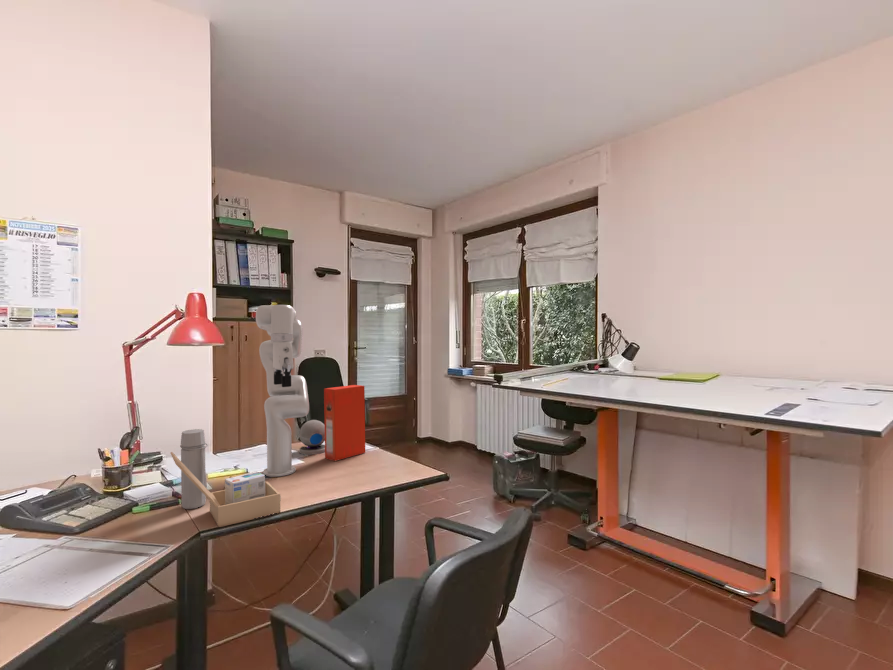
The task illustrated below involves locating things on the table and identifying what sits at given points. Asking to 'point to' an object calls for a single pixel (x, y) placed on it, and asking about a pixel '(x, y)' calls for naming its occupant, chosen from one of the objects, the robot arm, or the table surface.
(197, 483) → the lid
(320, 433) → the webcam
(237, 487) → the light bulb box
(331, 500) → the table surface
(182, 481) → the water bottle
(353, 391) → the file binder
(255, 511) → the cardboard tray
